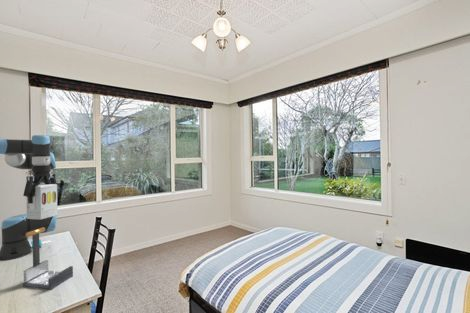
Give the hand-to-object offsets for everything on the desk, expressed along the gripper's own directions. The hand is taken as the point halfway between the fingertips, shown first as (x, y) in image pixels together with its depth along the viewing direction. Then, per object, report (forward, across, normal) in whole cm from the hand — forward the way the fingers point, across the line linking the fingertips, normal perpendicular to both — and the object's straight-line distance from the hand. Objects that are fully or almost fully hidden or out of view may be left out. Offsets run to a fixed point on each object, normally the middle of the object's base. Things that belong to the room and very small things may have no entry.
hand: (42, 207), depth 125 cm
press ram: (+32, -7, -4) cm, 33 cm away
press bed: (+35, -7, -11) cm, 37 cm away
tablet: (+34, +32, +39) cm, 61 cm away
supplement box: (+5, 0, 0) cm, 5 cm away
